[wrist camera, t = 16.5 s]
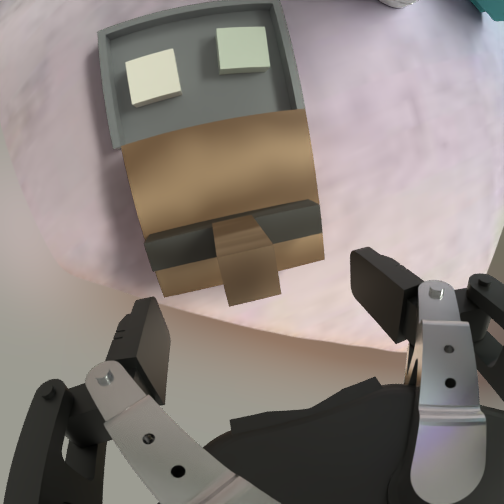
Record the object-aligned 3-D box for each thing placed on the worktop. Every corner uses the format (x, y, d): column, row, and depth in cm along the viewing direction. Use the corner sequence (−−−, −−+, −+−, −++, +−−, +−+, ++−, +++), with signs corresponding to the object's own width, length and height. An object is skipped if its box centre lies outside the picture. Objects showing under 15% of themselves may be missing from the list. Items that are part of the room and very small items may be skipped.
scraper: (148, 231, 23) (119, 280, 14) (308, 195, 24) (364, 224, 15) (158, 263, 24) (138, 325, 15) (311, 228, 25) (365, 270, 16)
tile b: (220, 69, 21) (219, 74, 23) (270, 66, 21) (265, 71, 23) (216, 28, 19) (215, 36, 21) (264, 26, 20) (260, 34, 22)
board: (134, 146, 24) (120, 146, 20) (287, 114, 26) (304, 108, 21) (169, 274, 30) (164, 297, 25) (306, 242, 31) (324, 259, 26)
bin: (104, 39, 19) (97, 31, 17) (273, 7, 21) (278, -3, 19) (120, 149, 24) (113, 149, 22) (296, 112, 26) (305, 109, 24)
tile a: (132, 104, 21) (137, 107, 22) (180, 90, 21) (182, 94, 23) (125, 62, 19) (130, 67, 21) (173, 48, 19) (174, 54, 21)
